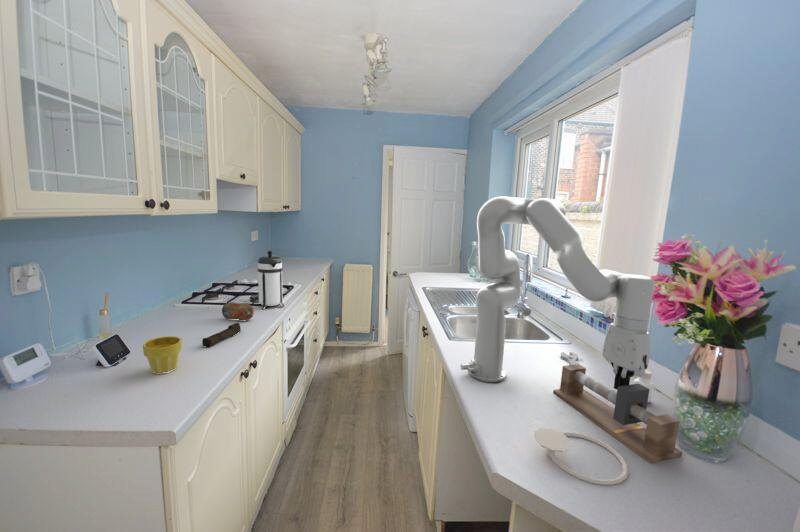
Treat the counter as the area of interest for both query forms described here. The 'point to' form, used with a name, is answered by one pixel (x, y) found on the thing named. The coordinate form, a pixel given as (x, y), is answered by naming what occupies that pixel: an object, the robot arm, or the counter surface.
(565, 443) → the hand towel holder
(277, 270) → the coffee press
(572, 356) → the adjustable wrench
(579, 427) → the counter surface
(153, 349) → the plant pot
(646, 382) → the salt shaker
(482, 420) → the counter surface
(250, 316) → the tin
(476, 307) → the robot arm
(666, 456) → the pipe stand
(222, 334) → the hand tool
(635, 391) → the collar
